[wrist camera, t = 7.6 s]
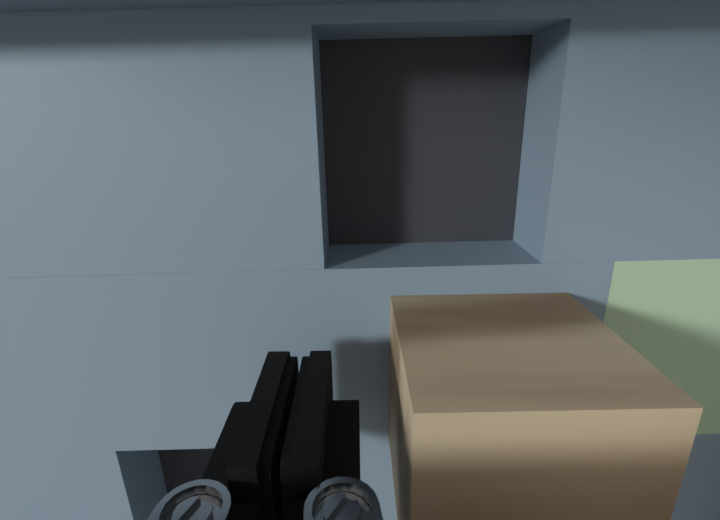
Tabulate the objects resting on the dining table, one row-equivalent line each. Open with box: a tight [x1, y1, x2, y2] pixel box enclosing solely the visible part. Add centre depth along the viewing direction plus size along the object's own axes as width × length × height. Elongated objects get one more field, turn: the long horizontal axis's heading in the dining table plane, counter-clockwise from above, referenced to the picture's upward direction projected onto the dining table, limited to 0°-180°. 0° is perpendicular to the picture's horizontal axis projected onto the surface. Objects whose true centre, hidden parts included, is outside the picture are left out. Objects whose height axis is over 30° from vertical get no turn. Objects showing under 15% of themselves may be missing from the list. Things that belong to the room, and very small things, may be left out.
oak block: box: [389, 293, 703, 520], centre depth 11 cm, size 5×5×5 cm
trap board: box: [0, 0, 720, 520], centre depth 13 cm, size 20×32×5 cm, turn 91°
